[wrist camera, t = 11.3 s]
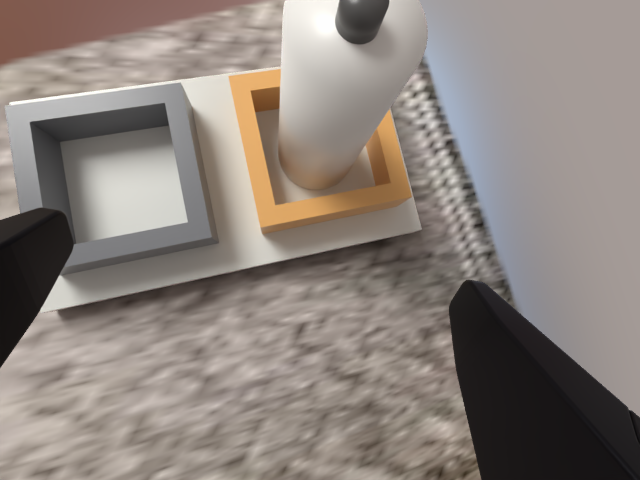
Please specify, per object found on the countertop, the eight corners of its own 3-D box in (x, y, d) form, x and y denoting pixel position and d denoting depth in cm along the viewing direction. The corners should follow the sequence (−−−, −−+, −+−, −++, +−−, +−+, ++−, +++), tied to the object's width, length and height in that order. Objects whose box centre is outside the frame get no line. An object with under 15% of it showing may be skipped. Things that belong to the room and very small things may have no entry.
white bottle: (341, 199, 22) (423, 95, 10) (268, 177, 21) (263, 41, 9) (359, 131, 22) (456, -42, 10) (289, 109, 22) (308, -97, 10)
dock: (415, 231, 23) (440, 222, 20) (52, 311, 20) (5, 317, 16) (372, 62, 24) (388, 26, 21) (21, 111, 21) (-29, 76, 17)
